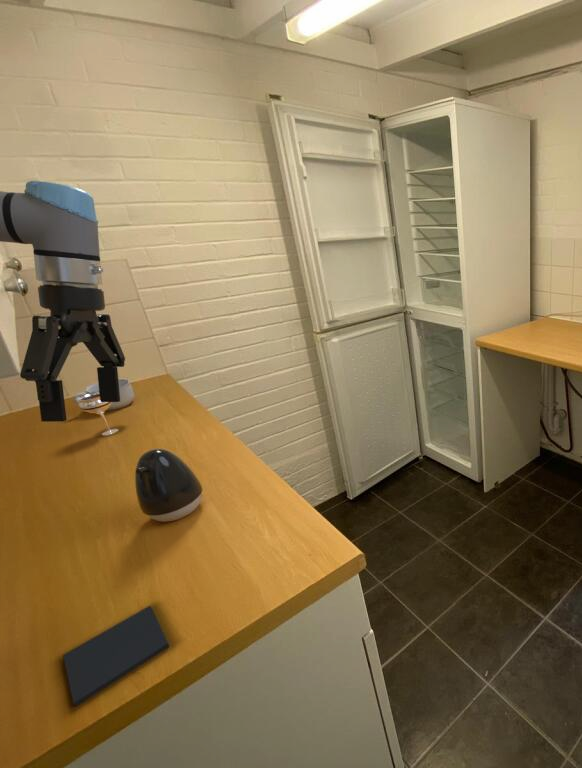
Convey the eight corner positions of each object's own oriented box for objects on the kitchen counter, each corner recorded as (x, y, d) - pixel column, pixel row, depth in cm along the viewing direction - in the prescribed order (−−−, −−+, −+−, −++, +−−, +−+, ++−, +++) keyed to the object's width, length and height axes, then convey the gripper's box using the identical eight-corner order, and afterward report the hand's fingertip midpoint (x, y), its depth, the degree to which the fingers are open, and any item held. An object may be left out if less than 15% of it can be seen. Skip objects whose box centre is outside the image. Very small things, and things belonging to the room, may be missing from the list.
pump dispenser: (136, 534, 82) (103, 470, 76) (165, 500, 91) (137, 441, 85) (194, 525, 84) (165, 462, 78) (216, 493, 93) (192, 434, 87)
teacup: (137, 396, 144) (128, 375, 141) (139, 406, 137) (129, 384, 134) (83, 410, 136) (71, 387, 133) (82, 421, 128) (69, 397, 125)
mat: (76, 708, 53) (72, 703, 53) (65, 659, 59) (62, 655, 59) (170, 647, 60) (167, 643, 60) (152, 609, 66) (150, 605, 66)
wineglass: (127, 424, 125) (110, 388, 120) (123, 434, 120) (105, 396, 115) (98, 431, 122) (79, 394, 117) (92, 441, 117) (72, 403, 112)
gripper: (38, 284, 58) (56, 431, 62) (142, 289, 82) (150, 395, 85) (-33, 279, 56) (-10, 431, 60) (95, 286, 80) (105, 394, 83)
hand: (84, 410), depth 72 cm, fingers open, 13 cm apart
